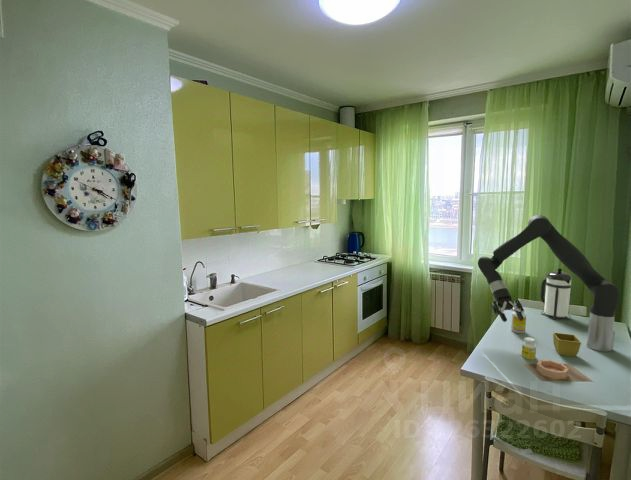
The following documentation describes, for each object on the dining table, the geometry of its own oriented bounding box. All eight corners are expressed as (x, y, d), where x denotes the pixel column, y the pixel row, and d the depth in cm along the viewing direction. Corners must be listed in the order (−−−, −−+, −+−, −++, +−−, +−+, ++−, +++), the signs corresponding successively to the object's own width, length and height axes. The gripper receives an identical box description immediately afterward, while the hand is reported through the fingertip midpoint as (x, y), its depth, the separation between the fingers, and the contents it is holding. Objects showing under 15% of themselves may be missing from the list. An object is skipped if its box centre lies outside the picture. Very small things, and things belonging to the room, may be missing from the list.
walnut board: (569, 366, 153) (569, 363, 153) (592, 384, 139) (593, 381, 139) (522, 366, 154) (522, 363, 154) (541, 383, 140) (541, 380, 140)
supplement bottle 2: (518, 356, 162) (520, 336, 161) (529, 356, 163) (531, 336, 161) (526, 362, 157) (528, 341, 156) (538, 361, 157) (539, 341, 156)
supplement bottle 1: (527, 333, 187) (528, 311, 185) (513, 333, 188) (515, 310, 186) (522, 328, 194) (524, 306, 192) (509, 328, 195) (510, 306, 193)
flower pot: (572, 352, 166) (574, 334, 164) (579, 361, 157) (581, 342, 156) (551, 349, 168) (552, 332, 167) (557, 358, 160) (558, 339, 159)
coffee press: (572, 315, 212) (577, 267, 208) (568, 323, 200) (573, 272, 196) (539, 309, 224) (543, 263, 219) (533, 315, 212) (537, 268, 208)
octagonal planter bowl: (556, 366, 151) (557, 359, 150) (573, 379, 140) (574, 372, 140) (532, 366, 151) (532, 359, 151) (546, 379, 141) (547, 372, 140)
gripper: (490, 288, 174) (504, 318, 165) (516, 286, 176) (531, 316, 167) (483, 295, 180) (496, 324, 171) (508, 293, 182) (522, 323, 173)
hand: (513, 320), depth 169 cm, fingers open, 8 cm apart
